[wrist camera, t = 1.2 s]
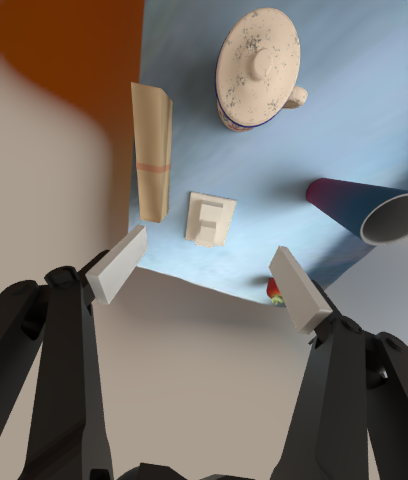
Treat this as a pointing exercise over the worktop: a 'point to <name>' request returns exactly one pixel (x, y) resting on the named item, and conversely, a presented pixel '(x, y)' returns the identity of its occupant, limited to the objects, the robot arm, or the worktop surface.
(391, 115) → the worktop surface
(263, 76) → the teacup with lid
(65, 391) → the robot arm
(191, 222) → the fulcrum
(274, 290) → the fruit
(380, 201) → the cup
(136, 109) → the beam
